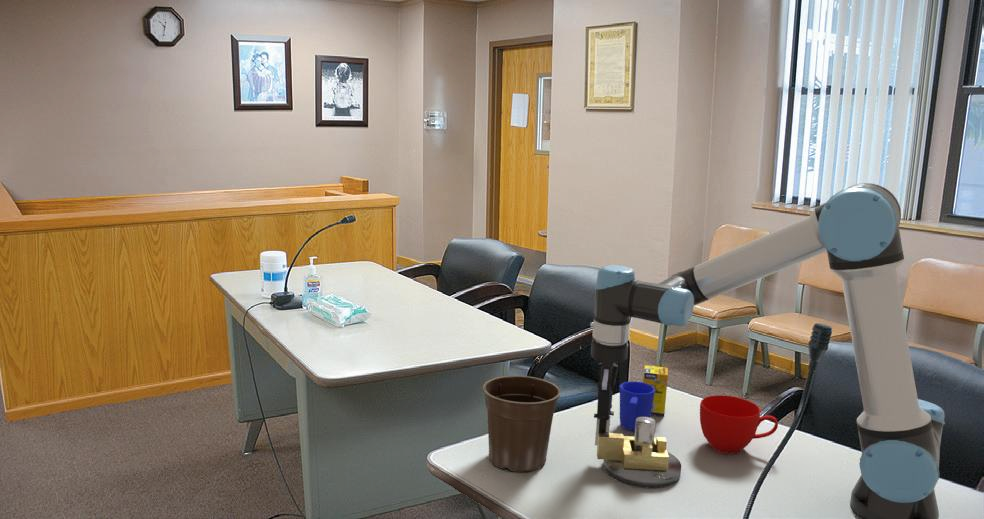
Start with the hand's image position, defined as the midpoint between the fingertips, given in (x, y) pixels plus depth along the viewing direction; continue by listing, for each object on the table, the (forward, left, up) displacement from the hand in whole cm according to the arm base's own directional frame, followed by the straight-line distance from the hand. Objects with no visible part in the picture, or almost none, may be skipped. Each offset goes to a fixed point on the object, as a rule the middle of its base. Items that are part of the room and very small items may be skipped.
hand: (601, 444), depth 166 cm
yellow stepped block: (-7, -1, -1) cm, 7 cm away
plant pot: (+13, +12, -4) cm, 18 cm away
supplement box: (+4, -33, -4) cm, 34 cm away
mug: (+2, -19, -4) cm, 20 cm away
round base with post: (-9, -2, -4) cm, 10 cm away
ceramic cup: (-20, -26, -4) cm, 33 cm away
